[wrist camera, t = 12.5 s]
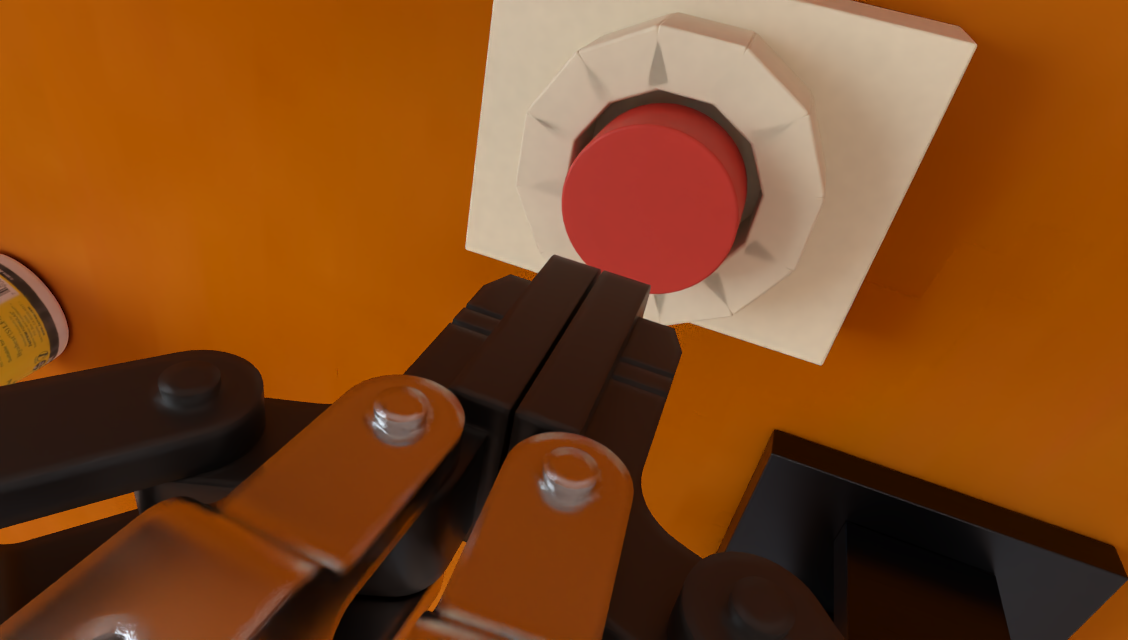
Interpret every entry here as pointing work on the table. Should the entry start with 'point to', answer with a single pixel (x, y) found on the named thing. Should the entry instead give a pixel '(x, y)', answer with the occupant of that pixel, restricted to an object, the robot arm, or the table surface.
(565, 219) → the button
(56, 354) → the supplement bottle
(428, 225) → the table surface
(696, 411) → the table surface
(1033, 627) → the bracket
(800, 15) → the control block
